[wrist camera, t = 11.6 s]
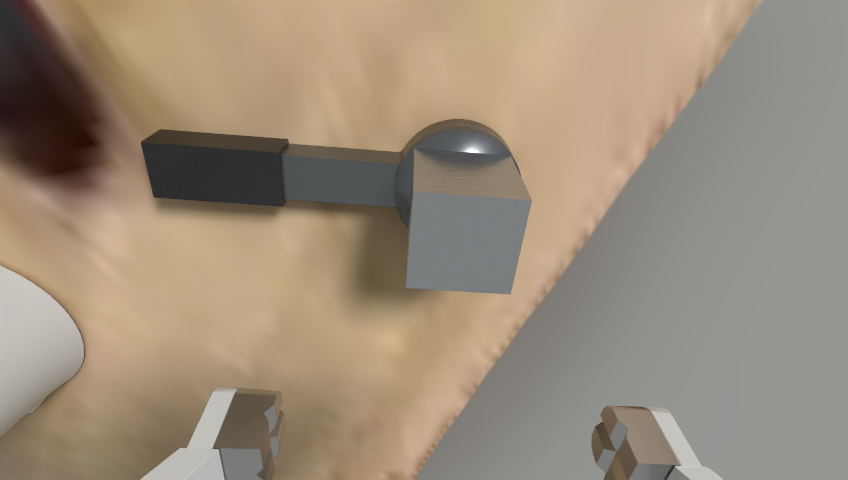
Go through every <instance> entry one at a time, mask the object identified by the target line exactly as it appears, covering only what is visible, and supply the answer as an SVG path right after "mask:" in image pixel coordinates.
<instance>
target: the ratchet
mask: <svg viewBox="0 0 848 480" xmlns="http://www.w3.org/2000/svg"><path fill="white" fill-rule="evenodd" d="M141 146H142V150H143V154H144V158H145V162H146V166H147V171H148V175H149V179H150V183H151V187H152V191H153V195H154V197H156V198H170V199H184V200H198V201H213V202H227V203H241V204H255V205H270V206H283V205H284V204H285V202H286V200H299V201H313V202H328V203H342V204H356V205H370V206H384V207H397V211H398V213H399V215H400V217H401V219H402V220H403V222H404V224H405V225H406V226H407V227H408V226H409V212H410V199H411V185H412V172H413V158H414V148H417V149H430V150H443V151H456V152H470V153H483V154H496V155H509V156H511V157H512V159H513V161H514V163H515V165H516V168H517V170H518V172H519V174H520V171H519V168H518V166H517V164H516V162H515V160H514V158H513V156H512V154H511V151H510V149H509V147H508V146H507V144H506V143H505V141H504V140H503V139H502V138H501V137H500V136H499V135H498V134H497V133H496V132H495V131H493V130H492V129H490V128H489V127H487V126H485V125H483V124H481V123H478V122H475V121H471V120H464V119H452V120H445V121H441V122H437V123H435V124H432V125H430V126H428V127H426V128H424V129H423V130H421V131H420V132H419V133H417V134H416V135H415V136H414V137H413V138H412V139H411V140H410V141H409V142H408V144H407V145H406V146H405V148H404V149H403V151H402V153H401V152H388V151H375V150H362V149H349V148H336V147H323V146H310V145H297V144H289V142H288V139H277V138H264V137H251V136H239V135H226V134H213V133H200V132H187V131H174V130H161V129H160V130H159V131H157V132H156V133H154V134H152V135H151V136H149V137H148V138H146V139H145V140H143V141H142V142H141ZM520 176H521V175H520Z"/></svg>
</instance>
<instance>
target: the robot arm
mask: <svg viewBox="0 0 848 480" xmlns="http://www.w3.org/2000/svg"><path fill="white" fill-rule="evenodd" d="M83 359H84V345H83V340H82V337H81V334H80V332H79V330H78V328H77V326H76V324H75V323H74V321H73V320H72V318H71V317H70V316H69V314H68V313H67V312H66V311H65V310H64V309H63V307H62V306H61V305H60V304H59V303H58V302H57V301H56V300H55V299H53V298H52V297H51V296H50V295H49V294H47V293H46V292H45V291H44V290H42V289H41V288H40V287H38V286H37V285H35V284H34V283H32V282H31V281H29V280H27V279H26V278H24V277H22V276H20V275H18V274H17V273H15V272H13V271H11V270H8V269H6V268H4V267H2V266H0V438H1V437H2V436H3V435H4V434H5V433H6V432H7V431H8V430H9V429H11V428H12V427H13V426H14V425H15V424H16V423H17V422H18V421H19V420H20V419H21V418H22V417H23V416H25V415H26V414H28V413H31V412H33V411H34V410H35V409H36V408H37V407H38V406H39V405H41V404H42V403H43V401H44V400H45V398H46V397H47V396H48V395H49V394H50V393H52V392H53V391H54V390H56V389H57V388H58V387H60V386H61V385H62V384H64V383H65V382H67V381H68V380H70V379H71V378H72V377H73V376H74V375H75V374H76V373H77V372H78V371H79V369H80V368H81V365H82V363H83ZM282 401H283V400H282V392H281V391H270V390H257V389H243V388H225V387H217V388H216V389H215V390H214V391H213V392H212V394H211V396H210V398H209V400H208V402H207V405H206V407H205V409H204V411H203V413H202V415H201V418H200V420H199V422H198V424H197V426H196V428H195V431H194V433H193V435H192V437H191V439H190V441H189V444H188V446H187V448H179V449H178V450H177V451H175V452H174V453H173V454H172V455H170V456H169V457H168V458H167V459H165V460H164V461H163V462H161V463H160V464H159V465H158V466H156V467H155V468H154V469H153V470H151V471H150V472H149V473H148V474H146V475H145V476H144V477H143V478H141V479H140V480H272V477H273V473H274V464H273V458H274V457H275V456H276V455H277V454H278V453H279V451H280V447H281V443H282V437H283V430H284V413H283V412H282V411H281V410H280V408H281V405H282ZM601 417H602V420H603V422H601V423H600V424H598V425H597V426H595V428H594V431H593V433H592V451H593V456H594V459H595V462H596V464H597V465H598V466H599V467H600V468H601V469H602V470H603V471H604V472H605V473H606V474H605V477H604V480H723V479H722V478H721V477H719V476H718V475H717V474H716V473H714V472H713V471H712V470H711V469H709V468H708V467H702V466H701V464H700V463H699V461H698V459H697V458H696V456H695V454H694V452H693V451H692V449H691V447H690V446H689V444H688V442H687V441H686V439H685V437H684V435H683V434H682V432H681V430H680V429H679V427H678V425H677V423H676V422H675V420H674V418H673V417H672V415H671V413H670V412H669V411H668V410H667V409H666V408H650V407H635V406H606V407H605V408H603V411H602V413H601Z"/></svg>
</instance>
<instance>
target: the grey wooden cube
mask: <svg viewBox="0 0 848 480" xmlns="http://www.w3.org/2000/svg"><path fill="white" fill-rule="evenodd" d="M531 201H532V200H531V197H530V195H529V193H528V191H527V189H526V187H525V185H524V182H523V180H522V178H521V176H520V174H519V172H518V170H517V168H516V165H515V163H514V161H513V159H512V157H511V156H509V155H496V154H483V153H470V152H456V151H443V150H430V149H417V148H414V158H413V172H412V185H411V199H410V212H409V226H408V245H407V268H406V288H414V289H430V290H447V291H464V292H480V293H497V294H511V290H512V286H513V281H514V277H515V272H516V268H517V263H518V259H519V255H520V250H521V246H522V241H523V237H524V232H525V228H526V224H527V219H528V215H529V210H530V206H531Z"/></svg>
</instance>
